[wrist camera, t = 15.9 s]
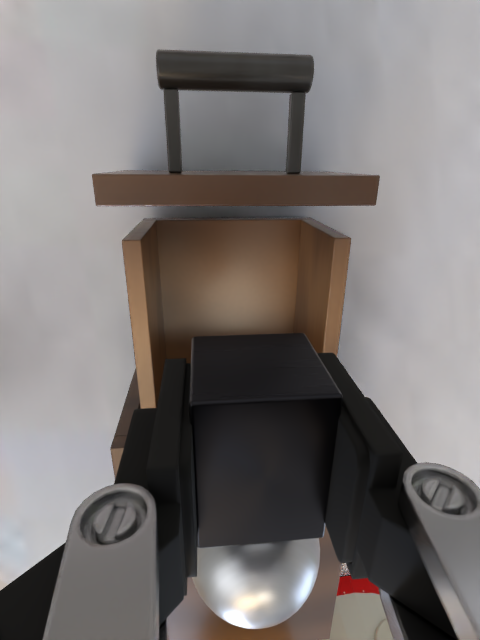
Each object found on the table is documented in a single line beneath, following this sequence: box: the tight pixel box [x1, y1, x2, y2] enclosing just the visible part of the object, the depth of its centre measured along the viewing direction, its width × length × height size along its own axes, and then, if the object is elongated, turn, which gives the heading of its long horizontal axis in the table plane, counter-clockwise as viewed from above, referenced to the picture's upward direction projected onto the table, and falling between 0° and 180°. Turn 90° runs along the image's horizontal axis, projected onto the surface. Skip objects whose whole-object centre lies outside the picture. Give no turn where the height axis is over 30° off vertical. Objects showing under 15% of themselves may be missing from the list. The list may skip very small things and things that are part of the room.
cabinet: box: [111, 369, 342, 640], centre depth 27 cm, size 18×13×9 cm
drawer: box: [92, 50, 380, 409], centre depth 21 cm, size 21×12×7 cm, turn 0°
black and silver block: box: [189, 333, 343, 629], centre depth 10 cm, size 7×4×4 cm, turn 179°
